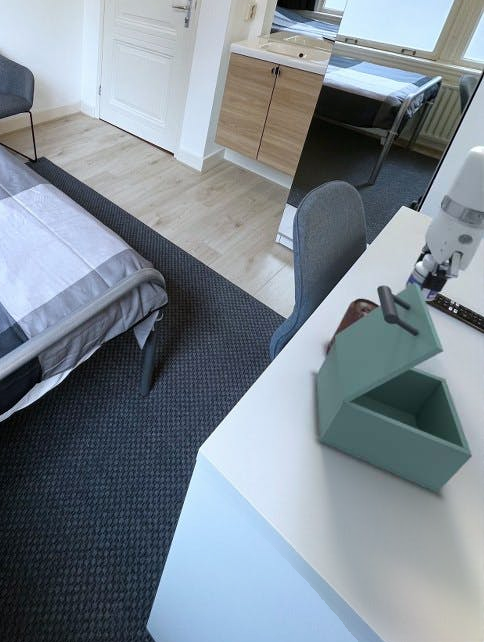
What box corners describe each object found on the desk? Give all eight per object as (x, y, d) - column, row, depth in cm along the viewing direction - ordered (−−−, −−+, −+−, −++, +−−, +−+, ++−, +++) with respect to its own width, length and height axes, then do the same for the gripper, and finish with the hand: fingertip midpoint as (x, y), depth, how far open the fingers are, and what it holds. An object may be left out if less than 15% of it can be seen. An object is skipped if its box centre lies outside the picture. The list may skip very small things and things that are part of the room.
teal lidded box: (416, 416, 75) (445, 378, 70) (436, 493, 65) (472, 456, 60) (315, 376, 80) (335, 338, 75) (319, 441, 70) (343, 403, 65)
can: (324, 361, 83) (350, 313, 77) (328, 339, 88) (353, 291, 81) (358, 379, 80) (389, 330, 74) (361, 355, 85) (389, 307, 78)
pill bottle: (430, 288, 92) (448, 257, 88) (436, 305, 87) (456, 273, 83) (402, 279, 93) (418, 248, 89) (407, 295, 89) (424, 264, 85)
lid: (419, 285, 65) (386, 264, 66) (443, 351, 55) (404, 325, 56) (338, 338, 75) (310, 319, 76) (346, 403, 64) (313, 380, 65)
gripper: (510, 241, 72) (461, 315, 80) (473, 192, 86) (435, 259, 95) (457, 228, 75) (415, 301, 83) (430, 182, 89) (397, 249, 97)
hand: (426, 278), depth 89 cm, fingers closed on pill bottle, 5 cm apart
